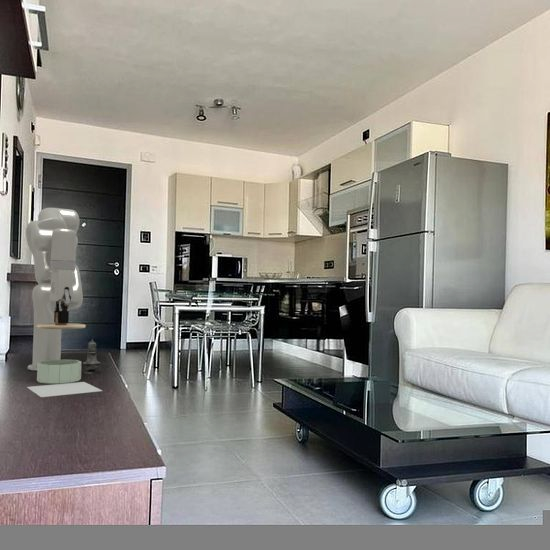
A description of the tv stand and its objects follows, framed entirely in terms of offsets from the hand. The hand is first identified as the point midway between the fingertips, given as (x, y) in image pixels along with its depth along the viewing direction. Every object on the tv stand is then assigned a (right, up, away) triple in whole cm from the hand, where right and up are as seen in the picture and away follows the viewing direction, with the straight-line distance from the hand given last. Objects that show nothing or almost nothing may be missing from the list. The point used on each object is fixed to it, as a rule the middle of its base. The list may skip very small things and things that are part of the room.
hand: (61, 322), depth 169 cm
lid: (0, -2, 0) cm, 2 cm away
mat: (+7, -19, -15) cm, 25 cm away
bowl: (0, -19, -1) cm, 19 cm away
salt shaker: (+4, -20, +17) cm, 26 cm away
